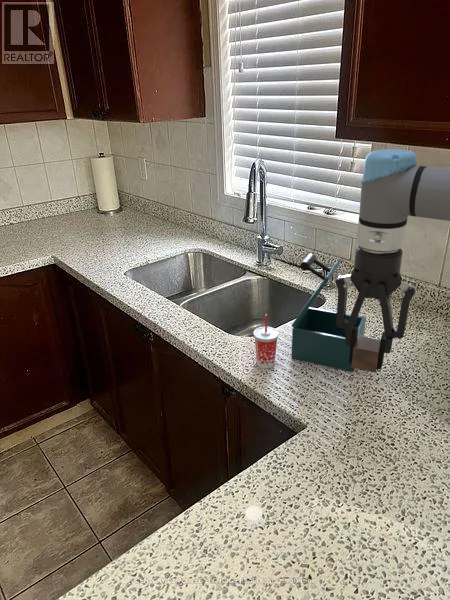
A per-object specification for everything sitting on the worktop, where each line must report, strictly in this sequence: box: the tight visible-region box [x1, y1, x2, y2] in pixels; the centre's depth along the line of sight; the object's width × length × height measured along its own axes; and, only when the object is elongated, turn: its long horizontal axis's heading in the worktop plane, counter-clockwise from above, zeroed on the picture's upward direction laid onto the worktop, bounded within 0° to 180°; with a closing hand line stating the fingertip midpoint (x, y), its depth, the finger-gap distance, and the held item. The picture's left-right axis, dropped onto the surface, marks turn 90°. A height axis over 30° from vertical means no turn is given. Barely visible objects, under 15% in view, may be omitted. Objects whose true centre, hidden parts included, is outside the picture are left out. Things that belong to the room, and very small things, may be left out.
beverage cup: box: [253, 313, 280, 370], centre depth 109 cm, size 6×6×14 cm
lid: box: [291, 253, 342, 329], centre depth 111 cm, size 16×13×8 cm
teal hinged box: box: [290, 306, 367, 373], centre depth 114 cm, size 16×13×9 cm
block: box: [352, 336, 381, 374], centre depth 84 cm, size 4×4×4 cm
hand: (365, 362), depth 85 cm, fingers closed on block, 4 cm apart
